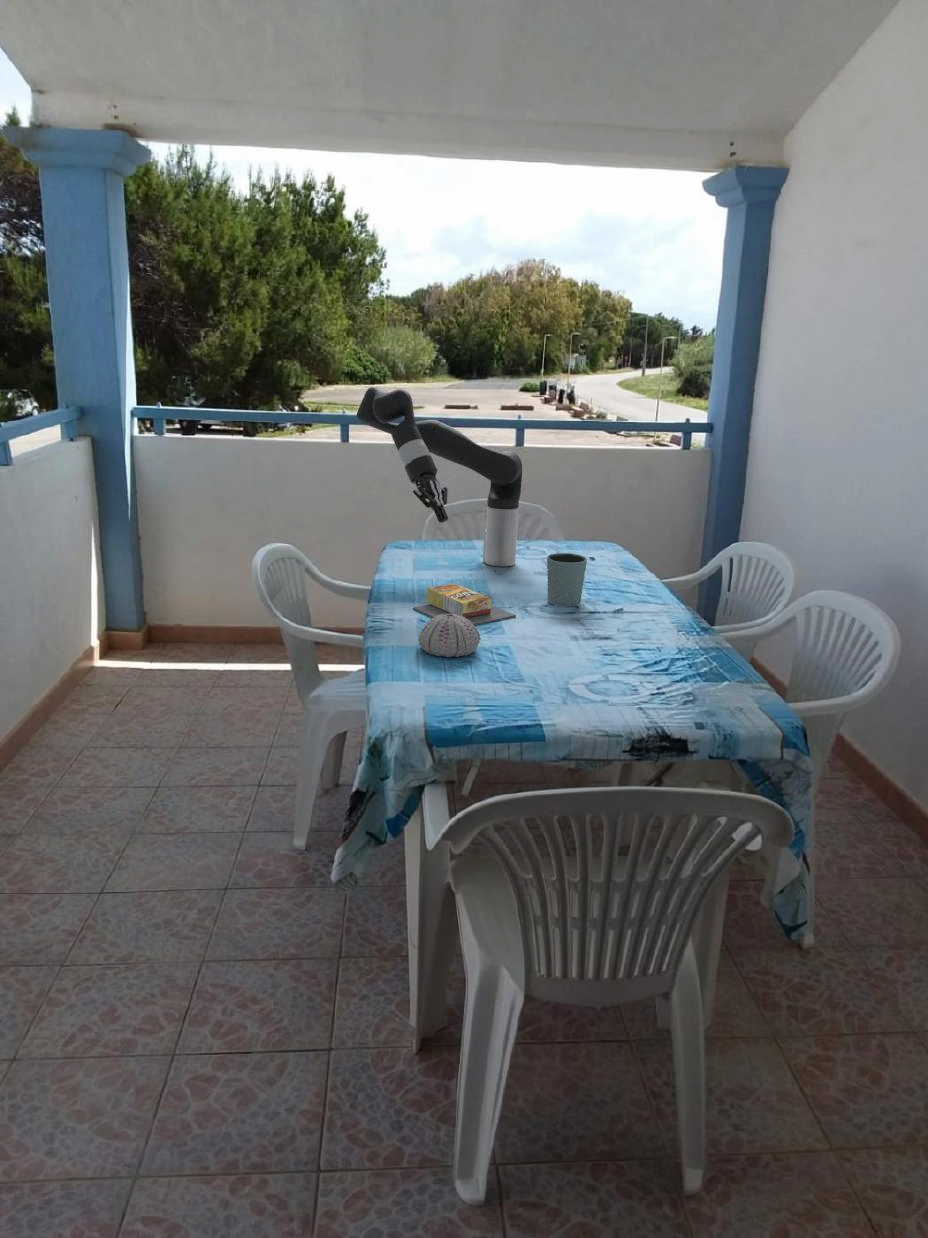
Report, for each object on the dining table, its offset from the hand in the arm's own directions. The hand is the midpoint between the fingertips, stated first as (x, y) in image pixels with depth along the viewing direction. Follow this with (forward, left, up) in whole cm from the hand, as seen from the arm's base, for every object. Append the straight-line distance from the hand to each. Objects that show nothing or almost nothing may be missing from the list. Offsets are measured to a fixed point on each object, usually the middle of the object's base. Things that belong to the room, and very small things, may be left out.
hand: (444, 521), depth 220 cm
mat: (+16, -5, -20) cm, 25 cm away
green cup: (+22, +23, -20) cm, 37 cm away
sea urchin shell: (+35, -24, -20) cm, 46 cm away
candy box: (+5, -5, -17) cm, 18 cm away
